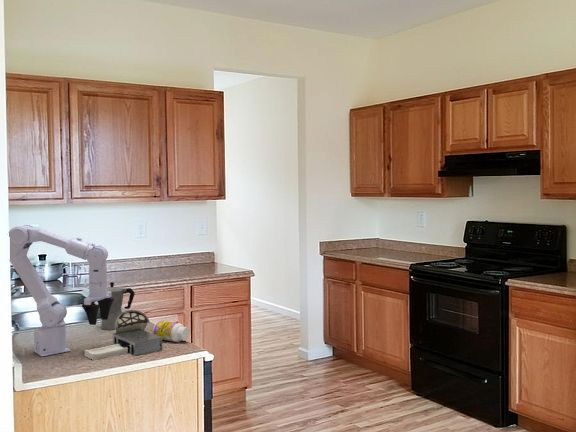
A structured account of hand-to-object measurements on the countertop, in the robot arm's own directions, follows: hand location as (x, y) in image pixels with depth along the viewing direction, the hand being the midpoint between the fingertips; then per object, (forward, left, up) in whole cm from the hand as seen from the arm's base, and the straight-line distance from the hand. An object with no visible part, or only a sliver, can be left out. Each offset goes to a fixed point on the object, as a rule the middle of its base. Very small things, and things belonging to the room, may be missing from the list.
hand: (98, 321), depth 194 cm
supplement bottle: (+22, 0, -6) cm, 23 cm away
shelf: (+11, -7, -10) cm, 16 cm away
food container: (+14, +8, -7) cm, 17 cm away
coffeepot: (+18, +26, -10) cm, 33 cm away
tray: (0, -7, -10) cm, 12 cm away
